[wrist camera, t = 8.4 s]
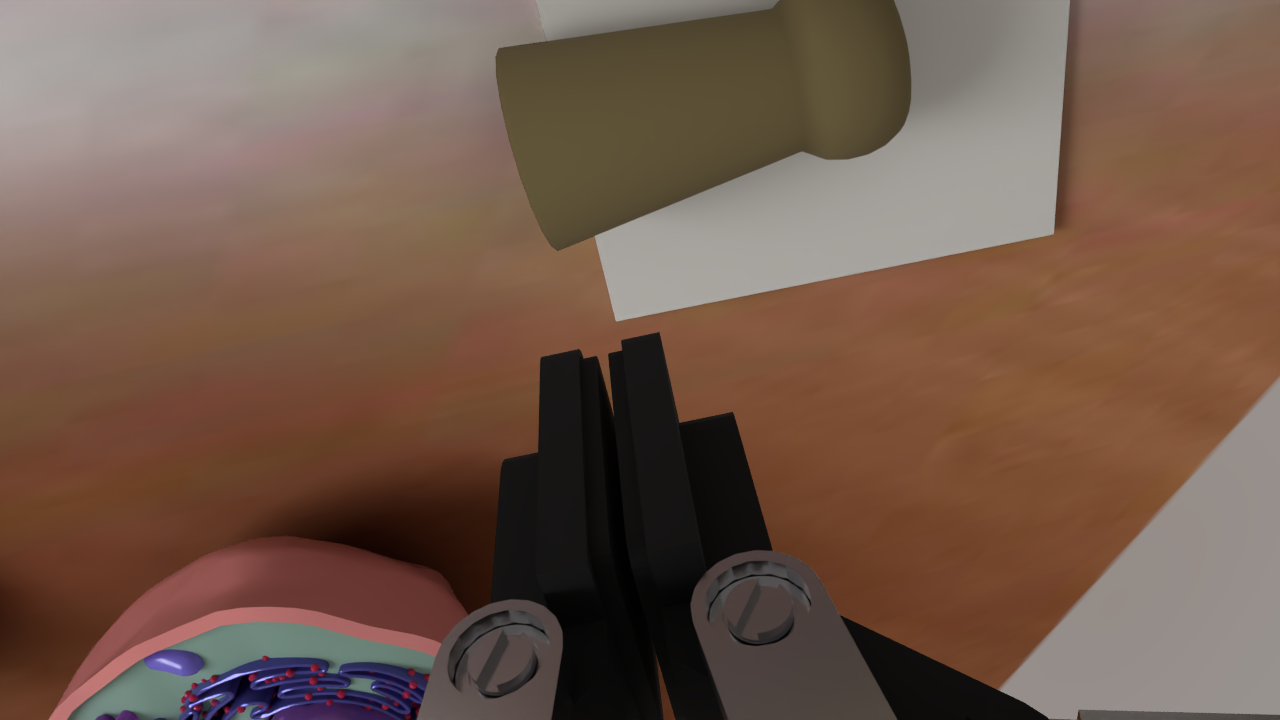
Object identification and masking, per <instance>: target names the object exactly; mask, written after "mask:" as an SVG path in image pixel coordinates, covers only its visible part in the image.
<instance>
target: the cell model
mask: <svg viewBox="0 0 1280 720" xmlns="http://www.w3.org/2000/svg"><path fill="white" fill-rule="evenodd" d="M468 615H469V614H468V613H467V611H466V610H465V608H464V607H463V606H462V604H461V603H460V602H459V600H458V599H457V598H456V596H455V594H454V592H453V590H452V588H451V586H450V584H449V582H448V581H447V580H446V579H445V578H444V577H443V576H442V575H441V574H440V573H439V572H437V571H435V570H434V569H432V568H430V567H427V566H423V565H419V564H414V563H409V562H405V561H400V560H396V559H393V558H390V557H387V556H383V555H380V554H377V553H374V552H371V551H368V550H365V549H362V548H357V547H353V546H348V545H344V544H339V543H333V542H327V541H321V540H315V539H308V538H302V537H296V536H266V537H260V538H253V539H248V540H244V541H241V542H238V543H234V544H231V545H228V546H225V547H223V548H220V549H218V550H215V551H213V552H210V553H208V554H206V555H204V556H202V557H200V558H198V559H196V560H195V561H193V562H191V563H189V564H187V565H186V566H184V567H182V568H180V569H178V570H177V571H175V572H173V573H171V574H169V575H168V576H166V577H165V578H163V579H162V580H161V581H159V582H158V583H157V584H155V585H154V586H152V587H151V588H150V589H148V590H147V591H146V592H145V593H144V594H143V595H141V596H140V597H139V598H138V599H137V600H136V601H135V602H134V603H133V604H131V605H130V606H129V607H128V608H127V609H126V610H125V611H124V612H123V613H122V614H121V615H120V617H119V618H118V619H117V620H116V621H115V622H114V623H113V625H112V626H111V627H110V628H109V629H108V630H107V631H106V633H105V634H104V635H103V636H102V637H101V638H100V639H99V641H98V642H97V643H96V644H95V645H94V646H93V648H92V649H91V651H90V652H89V653H88V655H87V656H86V658H85V659H84V661H83V662H82V664H81V665H80V667H79V668H78V669H77V671H76V673H75V674H74V676H73V678H72V680H71V681H70V683H69V685H68V686H67V688H66V690H65V692H64V693H63V695H62V697H61V699H60V700H59V702H58V704H57V706H56V707H55V709H54V711H53V713H52V714H51V716H50V718H49V719H48V720H414V719H415V718H416V717H417V716H418V714H419V710H420V707H421V703H422V700H423V697H424V693H425V690H426V687H427V683H428V680H429V677H430V673H431V670H432V667H433V663H434V660H435V657H436V655H437V653H438V650H439V648H440V646H441V644H442V642H443V640H444V639H445V637H446V636H447V635H448V634H449V633H450V631H451V630H452V629H453V628H454V627H455V625H456V624H457V623H459V622H460V621H461V620H463V619H464V618H465V617H467V616H468Z"/></svg>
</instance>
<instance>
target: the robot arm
mask: <svg viewBox="0 0 1280 720" xmlns="http://www.w3.org/2000/svg"><path fill="white" fill-rule="evenodd" d="M621 344H622V351H618V352H613V353H609V354H608V358H609V368H610V378H611V389H612V399H613V410H614V415H613V412H612V408H611V404H610V400H609V397H608V393H607V389H606V386H605V382H604V378H603V375H602V371H601V367H600V364H599V361H598V358H597V356H594V357H590V358H585V359H584V358H583V355H582V353H581V351H580V349H577V350H573V351H568V352H563V353H559V354H554V355H549V356H545V357H542V358H541V360H540V397H539V442H538V453H533V454H528V455H523V456H519V457H514V458H509V459H505V460H504V461H503V462H502V467H501V475H500V488H499V501H498V515H497V528H496V541H495V554H494V567H493V581H492V594H491V604H489V605H487V606H484V607H482V608H480V609H478V610H476V611H474V612H472V613H471V614H469V615H468V616H467V617H465V618H464V619H463V620H461V621H460V622H459V623H457V624H456V625H455V627H454V628H453V629H452V630H451V631H450V633H449V634H448V635H447V636H446V637H445V639H444V640H443V642H442V644H441V646H440V648H439V650H438V653H437V655H436V657H435V660H434V663H433V667H432V670H431V673H430V677H429V680H428V683H427V687H426V690H425V693H424V697H423V700H422V703H421V707H420V710H419V714H418V716H417V717H416V718H415V719H414V720H663V710H662V702H661V693H660V685H659V676H658V668H657V659H656V655H657V658H658V661H659V665H660V668H661V672H662V675H663V678H664V682H665V685H666V689H667V692H668V695H669V699H670V702H671V706H672V709H673V712H674V716H675V719H676V720H1068V719H1048V718H1047V717H1046V716H1044V715H1043V714H1041V713H1040V712H1038V711H1037V710H1035V709H1033V708H1032V707H1030V706H1029V705H1027V704H1026V703H1024V702H1021V701H1020V700H1018V699H1015V698H1013V697H1011V696H1009V695H1007V694H1005V693H1003V692H1001V691H999V690H997V689H994V688H992V687H990V686H988V685H986V684H984V683H982V682H980V681H978V680H975V679H973V678H971V677H969V676H967V675H965V674H963V673H961V672H959V671H957V670H954V669H952V668H950V667H948V666H946V665H944V664H942V663H940V662H938V661H935V660H933V659H931V658H929V657H927V656H925V655H923V654H921V653H919V652H917V651H914V650H912V649H910V648H908V647H906V646H904V645H902V644H900V643H898V642H895V641H893V640H891V639H889V638H887V637H885V636H883V635H881V634H879V633H876V632H874V631H872V630H870V629H868V628H866V627H864V626H862V625H860V624H858V623H855V622H853V621H851V620H849V619H847V618H845V617H843V616H841V615H839V613H838V611H837V609H836V607H835V606H834V604H833V602H832V600H831V598H830V596H829V595H828V593H827V591H826V589H825V587H824V586H823V584H822V582H821V580H820V579H819V578H818V577H817V575H816V574H815V573H814V572H813V570H812V569H811V568H810V567H809V566H808V565H806V564H805V563H803V562H801V561H800V560H798V559H797V558H795V557H793V556H790V555H787V554H783V553H780V552H777V551H773V550H772V546H771V543H770V539H769V536H768V532H767V529H766V525H765V522H764V518H763V515H762V511H761V508H760V504H759V501H758V497H757V494H756V490H755V487H754V483H753V480H752V476H751V473H750V469H749V466H748V462H747V459H746V455H745V451H744V448H743V444H742V441H741V437H740V434H739V430H738V427H737V423H736V420H735V417H734V414H733V412H730V413H726V414H721V415H716V416H711V417H706V418H701V419H697V420H692V421H687V422H682V423H679V419H678V414H677V410H676V405H675V401H674V396H673V392H672V387H671V382H670V378H669V373H668V369H667V364H666V360H665V355H664V350H663V346H662V341H661V337H660V333H659V332H658V333H653V334H648V335H643V336H639V337H634V338H629V339H625V340H622V341H621ZM1077 720H1280V715H1260V714H1221V713H1183V712H1144V711H1142V712H1141V711H1105V710H1079V711H1078V717H1077Z"/></svg>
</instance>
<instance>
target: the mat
mask: <svg viewBox="0 0 1280 720" xmlns="http://www.w3.org/2000/svg"><path fill="white" fill-rule="evenodd" d="M778 1H779V0H536V2H537V6H538V10H539V14H540V18H541V22H542V26H543V30H544V34H545V38H546V41H552V40H559V39H566V38H573V37H580V36H587V35H594V34H601V33H608V32H615V31H622V30H629V29H636V28H643V27H650V26H657V25H663V24H670V23H677V22H684V21H691V20H698V19H705V18H712V17H719V16H726V15H733V14H740V13H747V12H754V11H761V10H768V9H772V8H773V7H774V6H775V5H776V3H777V2H778ZM894 2H895V4H896V7H897V10H898V12H899V15H900V18H901V21H902V25H903V28H904V32H905V36H906V40H907V45H908V50H909V56H910V68H911V103H910V109H909V113H908V116H907V119H906V122H905V124H904V126H903V127H902V129H901V131H900V132H899V133H898V134H897V135H896V136H895V137H894V138H893V139H892V140H891V141H890V142H889V143H888V144H887V145H885V146H883V147H881V148H880V149H878V150H876V151H874V152H872V153H870V154H868V155H864V156H860V157H856V158H852V159H848V160H825V159H822V158H820V157H817V156H814V155H811V154H808V153H805V152H799V153H797V154H794V155H792V156H789V157H787V158H785V159H782V160H780V161H777V162H775V163H772V164H770V165H767V166H765V167H762V168H760V169H758V170H755V171H753V172H750V173H748V174H745V175H743V176H740V177H738V178H736V179H733V180H731V181H728V182H726V183H723V184H721V185H718V186H716V187H713V188H711V189H709V190H706V191H704V192H701V193H699V194H696V195H694V196H691V197H689V198H686V199H684V200H682V201H679V202H677V203H674V204H672V205H669V206H667V207H664V208H662V209H659V210H657V211H655V212H652V213H650V214H647V215H645V216H642V217H640V218H637V219H635V220H633V221H630V222H628V223H625V224H623V225H620V226H618V227H615V228H613V229H610V230H608V231H606V232H603V233H601V234H598V235H596V236H595V239H596V243H597V247H598V251H599V255H600V259H601V263H602V267H603V271H604V275H605V279H606V283H607V287H608V291H609V295H610V299H611V303H612V307H613V311H614V315H615V319H616V321H621V320H626V319H631V318H636V317H641V316H646V315H651V314H656V313H661V312H666V311H671V310H676V309H681V308H686V307H691V306H696V305H701V304H706V303H711V302H716V301H721V300H726V299H731V298H736V297H741V296H746V295H751V294H756V293H761V292H766V291H771V290H776V289H782V288H787V287H792V286H797V285H802V284H807V283H812V282H817V281H822V280H827V279H832V278H837V277H842V276H847V275H852V274H857V273H862V272H867V271H872V270H877V269H882V268H887V267H892V266H897V265H902V264H907V263H912V262H917V261H922V260H927V259H932V258H937V257H942V256H947V255H952V254H957V253H962V252H967V251H972V250H977V249H982V248H987V247H993V246H998V245H1003V244H1008V243H1013V242H1018V241H1023V240H1028V239H1033V238H1038V237H1043V236H1048V235H1053V234H1054V224H1055V209H1056V195H1057V181H1058V166H1059V152H1060V137H1061V123H1062V109H1063V94H1064V80H1065V65H1066V51H1067V37H1068V22H1069V8H1070V0H894Z"/></svg>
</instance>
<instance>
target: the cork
mask: <svg viewBox="0 0 1280 720" xmlns="http://www.w3.org/2000/svg"><path fill="white" fill-rule="evenodd" d="M496 78H497V84H498V90H499V96H500V102H501V108H502V112H503V116H504V120H505V125H506V129H507V133H508V137H509V141H510V145H511V148H512V151H513V155H514V158H515V161H516V165H517V168H518V171H519V175H520V178H521V180H522V183H523V186H524V189H525V192H526V194H527V197H528V200H529V203H530V205H531V208H532V210H533V212H534V215H535V217H536V219H537V221H538V224H539V226H540V228H541V230H542V232H543V234H544V235H545V237H546V239H547V240H548V242H549V243H550V245H551V246H552V247H553V248H554V249H556V250H557V251H559V250H561V249H564V248H566V247H569V246H571V245H574V244H576V243H579V242H581V241H583V240H586V239H588V238H591V237H593V236H596V235H598V234H601V233H603V232H606V231H608V230H610V229H613V228H615V227H618V226H620V225H623V224H625V223H628V222H630V221H633V220H635V219H637V218H640V217H642V216H645V215H647V214H650V213H652V212H655V211H657V210H659V209H662V208H664V207H667V206H669V205H672V204H674V203H677V202H679V201H682V200H684V199H686V198H689V197H691V196H694V195H696V194H699V193H701V192H704V191H706V190H709V189H711V188H713V187H716V186H718V185H721V184H723V183H726V182H728V181H731V180H733V179H736V178H738V177H740V176H743V175H745V174H748V173H750V172H753V171H755V170H758V169H760V168H762V167H765V166H767V165H770V164H772V163H775V162H777V161H780V160H782V159H785V158H787V157H789V156H792V155H794V154H797V153H799V152H805V153H808V154H811V155H814V156H817V157H820V158H822V159H825V160H848V159H852V158H856V157H860V156H864V155H868V154H870V153H872V152H874V151H876V150H878V149H880V148H881V147H883V146H885V145H887V144H888V143H889V142H890V141H891V140H892V139H893V138H894V137H895V136H896V135H897V134H898V133H899V132H900V131H901V129H902V127H903V126H904V124H905V122H906V119H907V116H908V113H909V109H910V103H911V68H910V56H909V50H908V45H907V40H906V36H905V32H904V28H903V25H902V21H901V18H900V15H899V12H898V10H897V7H896V4H895V2H894V0H779V1H778V2H777V3H776V5H775V6H774V7H773V8H772V9H768V10H761V11H754V12H747V13H740V14H733V15H726V16H719V17H712V18H705V19H698V20H691V21H684V22H677V23H670V24H663V25H657V26H650V27H643V28H636V29H629V30H622V31H615V32H608V33H601V34H594V35H587V36H580V37H573V38H566V39H559V40H552V41H546V42H539V43H532V44H525V45H518V46H511V47H504V48H499V49H498V52H497V55H496Z"/></svg>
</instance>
